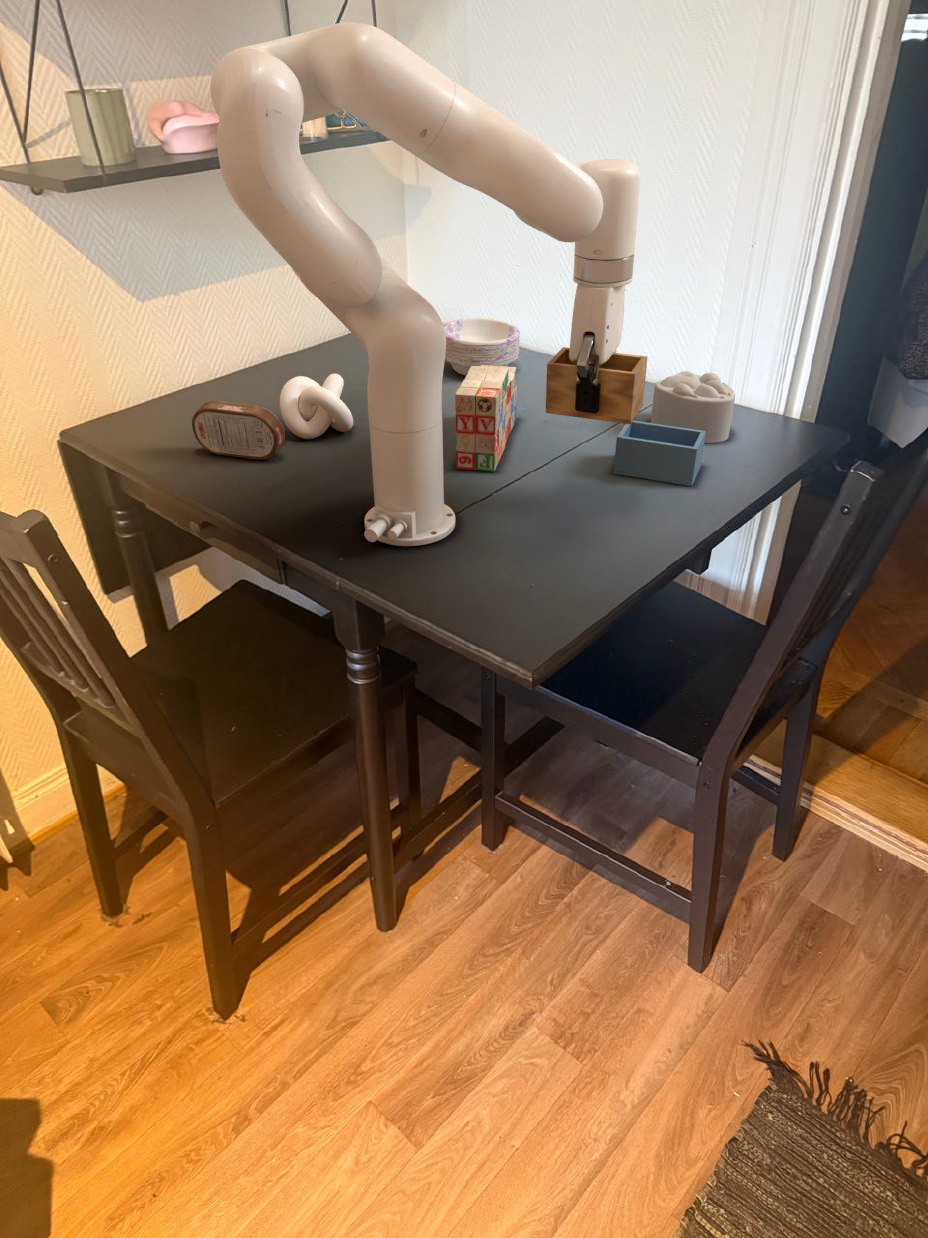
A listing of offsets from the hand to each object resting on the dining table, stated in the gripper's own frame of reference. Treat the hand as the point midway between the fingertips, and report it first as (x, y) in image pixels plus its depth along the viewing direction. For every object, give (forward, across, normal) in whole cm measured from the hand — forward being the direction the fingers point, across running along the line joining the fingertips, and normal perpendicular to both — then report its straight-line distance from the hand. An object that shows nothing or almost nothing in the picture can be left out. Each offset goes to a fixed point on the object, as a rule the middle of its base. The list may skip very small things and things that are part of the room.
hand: (594, 400), depth 128 cm
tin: (+14, +7, -55) cm, 58 cm away
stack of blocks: (+15, -12, -20) cm, 28 cm away
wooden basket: (+1, 0, 0) cm, 1 cm away
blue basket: (+15, -12, +8) cm, 20 cm away
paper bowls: (+15, -44, -34) cm, 57 cm away
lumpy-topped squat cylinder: (+15, -30, +10) cm, 35 cm away
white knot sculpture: (+14, -7, -48) cm, 51 cm away
